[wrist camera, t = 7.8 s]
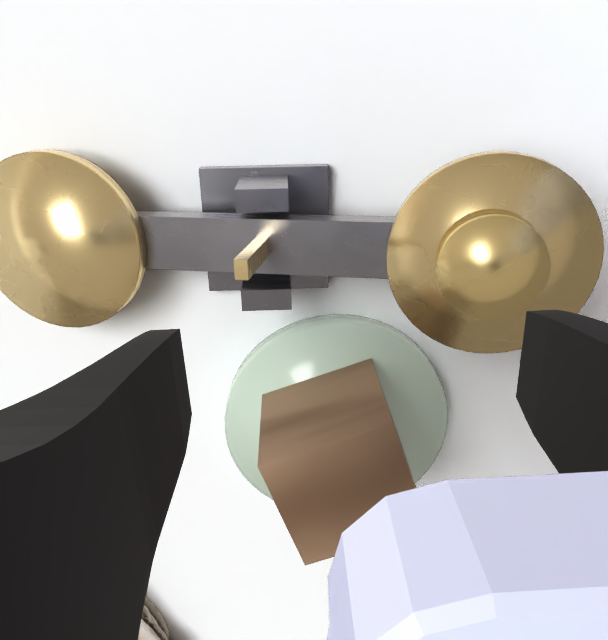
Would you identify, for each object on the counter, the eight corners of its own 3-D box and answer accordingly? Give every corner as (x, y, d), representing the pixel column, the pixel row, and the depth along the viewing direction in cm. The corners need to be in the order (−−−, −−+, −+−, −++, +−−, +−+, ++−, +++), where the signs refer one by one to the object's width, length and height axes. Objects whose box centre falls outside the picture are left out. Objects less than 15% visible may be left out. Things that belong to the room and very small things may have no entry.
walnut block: (403, 448, 23) (429, 528, 19) (301, 481, 24) (305, 565, 20) (371, 358, 22) (392, 423, 18) (262, 394, 22) (257, 466, 18)
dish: (449, 310, 22) (457, 320, 21) (433, 494, 26) (439, 510, 25) (218, 317, 22) (216, 328, 21) (234, 502, 25) (232, 518, 24)
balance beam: (607, 147, 16) (649, 163, 13) (572, 340, 18) (600, 389, 15) (-18, 146, 19) (-94, 158, 17) (19, 308, 22) (-42, 343, 19)
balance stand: (327, 164, 20) (334, 178, 17) (327, 283, 21) (334, 315, 19) (200, 166, 20) (186, 182, 17) (211, 286, 21) (199, 319, 18)
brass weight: (550, 209, 16) (559, 217, 15) (535, 310, 17) (542, 323, 16) (439, 207, 16) (440, 215, 15) (431, 304, 17) (432, 317, 16)
